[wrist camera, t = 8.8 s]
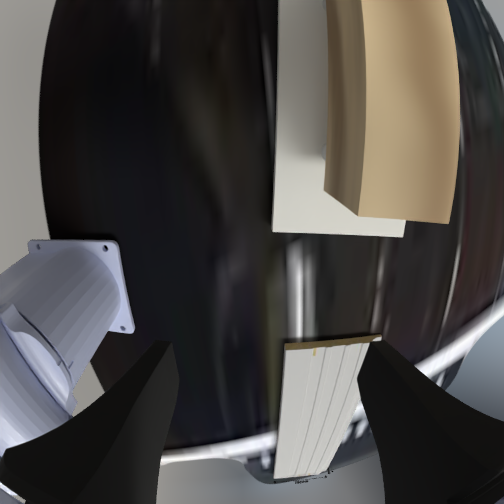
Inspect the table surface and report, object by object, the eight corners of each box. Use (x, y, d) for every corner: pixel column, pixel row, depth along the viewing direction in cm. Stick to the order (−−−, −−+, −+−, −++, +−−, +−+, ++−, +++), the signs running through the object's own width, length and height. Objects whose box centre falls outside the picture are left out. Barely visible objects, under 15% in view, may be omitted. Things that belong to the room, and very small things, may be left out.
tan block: (323, 190, 14) (357, 216, 9) (322, -33, 8) (345, -79, 4) (396, 196, 14) (448, 223, 9) (391, -15, 9) (430, -48, 4)
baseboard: (392, 328, 22) (283, 338, 22) (404, 348, 19) (286, 362, 20) (333, 464, 34) (273, 471, 34) (336, 478, 31) (273, 485, 31)
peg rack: (271, 226, 18) (275, 243, 15) (278, -43, 10) (281, -66, 7) (396, 232, 18) (416, 248, 15) (397, -17, 10) (415, -31, 7)
